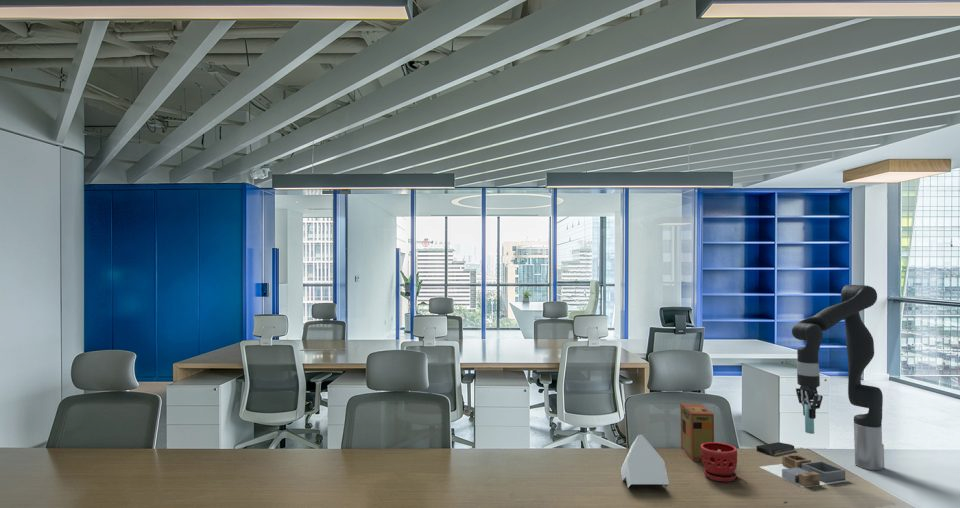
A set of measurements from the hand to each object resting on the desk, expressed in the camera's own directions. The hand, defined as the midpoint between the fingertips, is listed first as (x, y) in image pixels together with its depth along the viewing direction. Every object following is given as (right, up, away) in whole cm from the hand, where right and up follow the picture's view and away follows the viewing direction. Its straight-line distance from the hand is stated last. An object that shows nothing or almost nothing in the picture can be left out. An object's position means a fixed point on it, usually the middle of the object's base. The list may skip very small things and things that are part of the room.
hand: (809, 416), depth 201 cm
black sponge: (+1, -24, +24) cm, 34 cm away
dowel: (0, -6, 0) cm, 6 cm away
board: (-5, -23, -2) cm, 23 cm away
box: (-35, -24, +23) cm, 48 cm away
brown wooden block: (-8, -21, -13) cm, 26 cm away
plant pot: (-37, -23, -3) cm, 44 cm away
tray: (+2, -22, -5) cm, 22 cm away
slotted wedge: (-69, -23, -7) cm, 73 cm away
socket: (-3, -22, +4) cm, 22 cm away
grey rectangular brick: (-10, -21, -8) cm, 25 cm away
